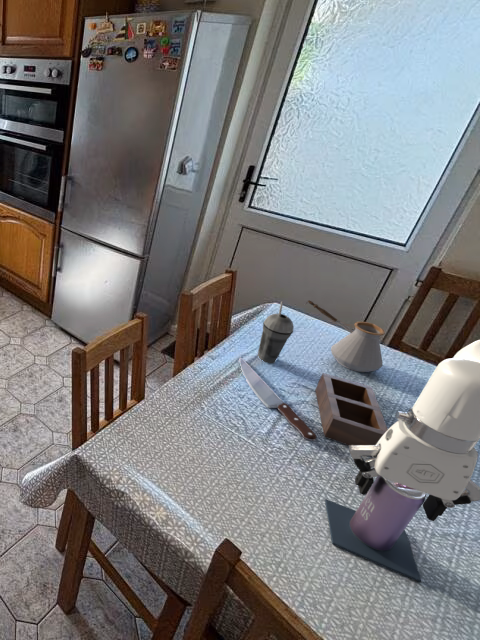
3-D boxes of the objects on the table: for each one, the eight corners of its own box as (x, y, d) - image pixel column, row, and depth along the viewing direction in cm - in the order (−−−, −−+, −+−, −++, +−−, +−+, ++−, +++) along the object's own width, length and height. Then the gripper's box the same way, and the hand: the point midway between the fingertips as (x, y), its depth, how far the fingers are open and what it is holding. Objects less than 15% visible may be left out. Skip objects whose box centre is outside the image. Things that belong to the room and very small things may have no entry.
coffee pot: (382, 365, 121) (404, 323, 115) (373, 382, 115) (395, 338, 109) (297, 332, 137) (312, 293, 130) (284, 345, 130) (299, 305, 124)
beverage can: (397, 557, 74) (437, 504, 68) (357, 546, 76) (391, 493, 70) (380, 525, 79) (414, 473, 73) (342, 516, 81) (373, 463, 75)
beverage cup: (284, 368, 121) (307, 311, 112) (255, 363, 123) (275, 306, 114) (276, 353, 127) (298, 298, 118) (249, 348, 129) (268, 294, 121)
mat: (403, 531, 79) (405, 530, 79) (420, 582, 71) (421, 581, 71) (324, 500, 85) (325, 498, 84) (332, 544, 77) (332, 542, 77)
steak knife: (297, 442, 97) (300, 436, 96) (224, 359, 125) (226, 354, 124) (317, 443, 97) (320, 437, 96) (240, 360, 125) (242, 355, 124)
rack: (315, 389, 113) (322, 372, 110) (362, 403, 108) (372, 386, 105) (324, 437, 99) (333, 418, 96) (379, 455, 94) (390, 437, 91)
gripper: (372, 423, 67) (334, 493, 75) (534, 473, 59) (472, 546, 66) (363, 394, 73) (328, 462, 80) (509, 436, 64) (454, 507, 72)
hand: (393, 500), depth 73 cm, fingers open, 8 cm apart
